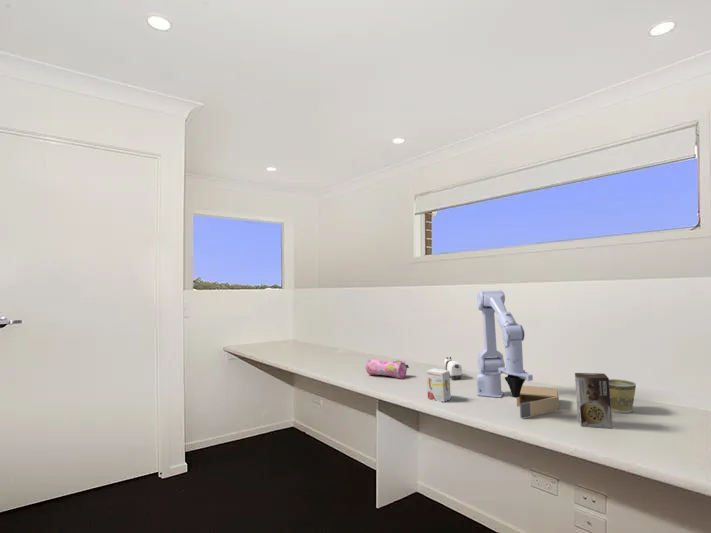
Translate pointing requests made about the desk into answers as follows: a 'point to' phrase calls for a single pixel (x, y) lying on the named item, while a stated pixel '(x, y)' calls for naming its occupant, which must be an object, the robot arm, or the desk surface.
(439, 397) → the ink box
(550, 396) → the carton
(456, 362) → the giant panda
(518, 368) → the robot arm
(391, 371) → the pencil case
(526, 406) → the carton flap
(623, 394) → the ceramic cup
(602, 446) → the desk surface
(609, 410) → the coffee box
